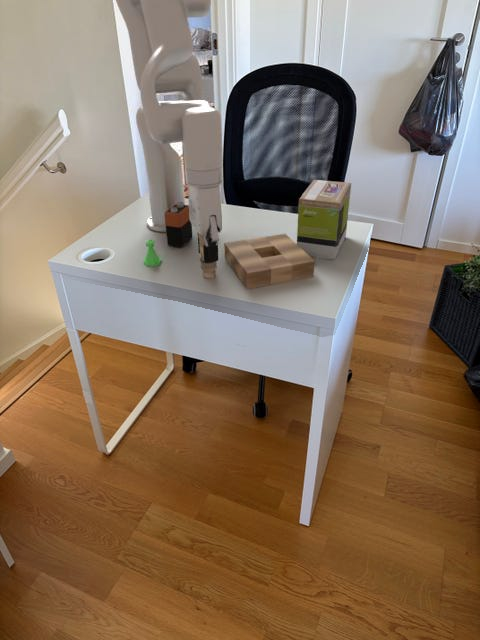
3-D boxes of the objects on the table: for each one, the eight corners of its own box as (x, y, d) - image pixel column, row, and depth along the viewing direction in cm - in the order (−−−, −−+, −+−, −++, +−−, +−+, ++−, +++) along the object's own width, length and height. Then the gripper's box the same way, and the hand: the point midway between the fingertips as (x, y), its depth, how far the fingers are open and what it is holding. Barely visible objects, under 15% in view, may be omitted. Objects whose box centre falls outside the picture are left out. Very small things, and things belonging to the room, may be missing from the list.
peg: (199, 272, 107) (195, 219, 100) (214, 270, 108) (212, 217, 101) (203, 280, 104) (200, 226, 97) (219, 277, 105) (217, 223, 98)
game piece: (165, 260, 113) (162, 237, 109) (154, 268, 109) (151, 244, 106) (150, 257, 114) (147, 234, 111) (140, 264, 111) (136, 241, 108)
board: (224, 258, 113) (224, 243, 111) (284, 248, 118) (285, 233, 115) (247, 289, 101) (247, 273, 99) (313, 276, 105) (314, 261, 103)
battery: (193, 238, 123) (190, 201, 118) (182, 248, 118) (178, 211, 112) (178, 236, 125) (175, 199, 119) (166, 246, 119) (162, 208, 114)
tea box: (309, 232, 126) (313, 177, 118) (346, 237, 123) (353, 181, 115) (294, 255, 115) (298, 196, 106) (335, 261, 112) (342, 202, 103)
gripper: (176, 165, 99) (183, 244, 109) (197, 189, 86) (202, 276, 96) (210, 162, 101) (213, 240, 111) (235, 185, 88) (236, 270, 98)
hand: (208, 256), depth 103 cm, fingers open, 3 cm apart
